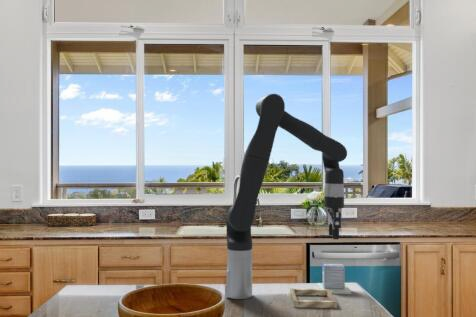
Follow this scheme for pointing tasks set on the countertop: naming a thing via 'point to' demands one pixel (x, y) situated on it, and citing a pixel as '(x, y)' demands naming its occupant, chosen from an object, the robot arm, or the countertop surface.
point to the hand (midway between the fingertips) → (333, 237)
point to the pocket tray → (311, 303)
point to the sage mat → (336, 291)
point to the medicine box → (333, 276)
